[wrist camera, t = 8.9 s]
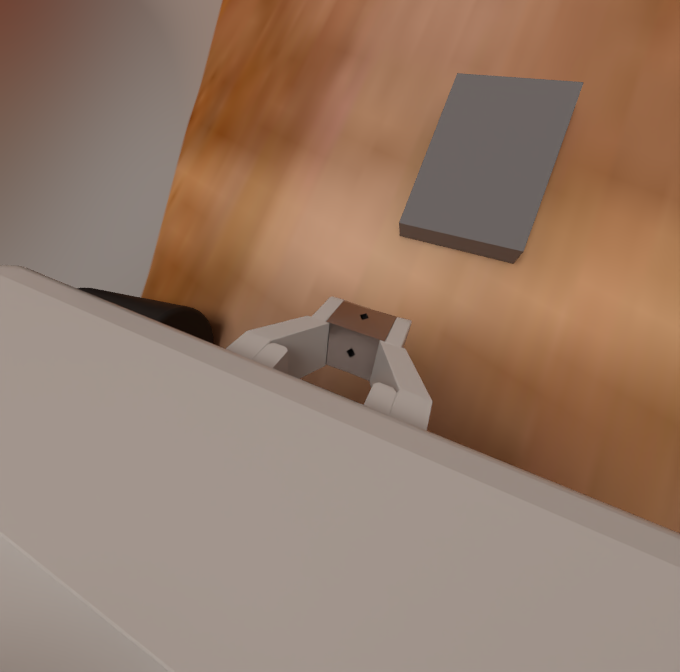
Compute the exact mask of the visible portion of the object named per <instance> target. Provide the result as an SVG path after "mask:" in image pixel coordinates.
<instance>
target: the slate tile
mask: <svg viewBox="0 0 680 672" xmlns="http://www.w3.org/2000/svg"><path fill="white" fill-rule="evenodd" d="M582 85H583V82H572V81H558V80H544V79H530V78H516V77H502V76H487V75H473V74H459V73H457V76H456V78H455V81H454V83H453V86H452V88H451V91H450V94H449V96H448V99H447V101H446V104H445V106H444V109H443V112H442V114H441V117H440V119H439V122H438V124H437V127H436V130H435V132H434V135H433V137H432V140H431V142H430V145H429V148H428V150H427V153H426V155H425V158H424V160H423V163H422V165H421V168H420V171H419V173H418V176H417V178H416V181H415V183H414V186H413V189H412V191H411V194H410V196H409V199H408V201H407V204H406V207H405V209H404V212H403V214H402V217H401V219H400V222H399V228H400V236H403V237H407V238H411V239H415V240H419V241H423V242H427V243H431V244H435V245H439V246H443V247H448V248H452V249H456V250H460V251H464V252H468V253H472V254H476V255H480V256H484V257H488V258H492V259H497V260H501V261H505V262H509V263H514V262H515V261H516V260H517V258H518V257H519V256H520V255H521V254H522V253H523V251H524V248H525V246H526V243H527V240H528V237H529V234H530V231H531V229H532V226H533V223H534V220H535V217H536V215H537V212H538V209H539V206H540V203H541V201H542V198H543V195H544V192H545V189H546V186H547V184H548V181H549V178H550V175H551V172H552V170H553V167H554V164H555V161H556V158H557V156H558V153H559V150H560V147H561V144H562V142H563V139H564V136H565V133H566V130H567V127H568V125H569V122H570V119H571V116H572V113H573V111H574V108H575V105H576V102H577V99H578V97H579V94H580V91H581V88H582Z"/></svg>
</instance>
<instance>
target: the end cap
mask: <svg viewBox="0 0 680 672" xmlns="http://www.w3.org/2000/svg"><path fill="white" fill-rule="evenodd" d="M77 289H79V290H82V291H84V292H87V293H89V294H92V295H94V296H97V297H99V298H101V299H104V300H106V301H109V302H111V303H114V304H116V305H119V306H121V307H124V308H126V309H128V310H131V311H133V312H136V313H138V314H141V315H143V316H146V317H148V318H151V319H153V320H156V321H158V322H160V323H163V324H165V325H168V326H170V327H173V328H175V329H178V330H180V331H183V332H185V333H188V334H190V335H192V336H195V337H197V338H200V339H202V340H205V341H207V342H210V343H212V344H213V333H212V329H211V326H210V324H209V321H208V320H207V319H206V317H205V316H204V315H203V314H202V313H201V312H200V311H198V310H196V309H194V308H191V307H186V306H181V305H176V304H171V303H165V302H160V301H155V300H150V299H145V298H140V297H134V296H129V295H124V294H119V293H113V292H109V291H104V290H98V289H93V288H77Z"/></svg>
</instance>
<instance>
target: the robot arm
mask: <svg viewBox="0 0 680 672" xmlns="http://www.w3.org/2000/svg"><path fill="white" fill-rule="evenodd" d="M411 323H412V321H411V320H407V319H404V318H400V317H396V316H393V315H389V314H386V313H382V312H379V311H375V310H372V309H370V308H367V307H364V306H361V305H358V304H355V303H352V302H349V301H346V300H343V299H340V298H337V297H333V296H332V297H330V298H329V299H328V300H327V301H326V302H325V303H324V304H323V305H322V306H321V307H320V308H319V309H318V310H317V311H316V312H315V313H314V315H313V316H312V317H310V316H304V317H300V318H296V319H292V320H288V321H285V322H281V323H277V324H273V325H269V326H265V327H261V328H257V329H253V330H249V331H246V332H245V333H244V334H243V335H241V336H240V337H239V338H238V339H237V340H235V341H234V342H233V343H232V344H231V345H229V346H228V347H227V348H226V349H224V348H222V347H219V346H217V345H215V344H212V343H210V342H207V341H205V340H202V339H200V338H197V337H195V336H192V335H190V334H188V333H185V332H183V331H180V330H178V329H175V328H173V327H170V326H168V325H165V324H163V323H160V322H158V321H156V320H153V319H151V318H148V317H146V316H143V315H141V314H138V313H136V312H133V311H131V310H128V309H126V308H124V307H121V306H119V305H116V304H114V303H111V302H109V301H106V300H104V299H101V298H99V297H97V296H94V295H92V294H89V293H87V292H84V291H82V290H79V289H77V288H74V287H72V286H69V285H67V284H64V283H62V282H60V281H57V280H55V279H52V278H50V277H47V276H45V275H43V274H40V273H38V272H35V271H33V270H31V269H28V268H25V267H22V266H16V265H0V672H680V533H678V532H675V531H673V530H671V529H668V528H666V527H663V526H661V525H658V524H656V523H653V522H651V521H648V520H646V519H643V518H641V517H638V516H636V515H634V514H631V513H629V512H626V511H624V510H621V509H619V508H616V507H614V506H611V505H609V504H606V503H604V502H602V501H599V500H597V499H594V498H592V497H589V496H587V495H584V494H582V493H579V492H577V491H574V490H572V489H570V488H567V487H565V486H562V485H560V484H557V483H555V482H552V481H550V480H547V479H545V478H542V477H540V476H537V475H535V474H533V473H530V472H528V471H525V470H523V469H520V468H518V467H515V466H513V465H510V464H508V463H505V462H503V461H501V460H498V459H496V458H493V457H491V456H488V455H486V454H483V453H481V452H478V451H476V450H473V449H471V448H468V447H466V446H463V445H461V444H458V443H456V442H453V441H451V440H449V439H446V438H444V437H441V436H439V435H436V434H434V433H431V432H429V431H427V426H428V421H429V416H430V411H431V406H432V400H431V398H430V396H429V394H428V392H427V390H426V388H425V386H424V384H423V382H422V380H421V378H420V376H419V374H418V372H417V370H416V368H415V366H414V364H413V362H412V361H411V359H410V357H409V355H408V353H407V351H406V349H404V345H405V342H406V338H407V335H408V332H409V329H410V326H411ZM325 364H326V365H329V366H332V367H335V368H338V369H340V370H343V371H346V372H349V373H351V374H354V375H356V376H359V377H361V378H363V379H366V380H368V381H370V386H371V390H370V392H369V394H368V397H367V399H366V401H365V403H364V405H363V404H360V403H358V402H355V401H353V400H350V399H348V398H345V397H343V396H340V395H338V394H335V393H333V392H331V391H328V390H326V389H323V388H321V387H318V386H316V385H313V384H311V383H308V382H306V381H303V380H301V379H300V378H302V377H304V376H306V375H308V374H310V373H312V372H314V371H316V370H318V369H320V368H321V367H323V366H325Z"/></svg>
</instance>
